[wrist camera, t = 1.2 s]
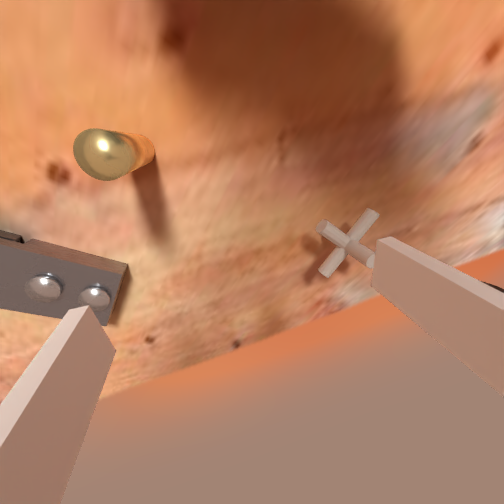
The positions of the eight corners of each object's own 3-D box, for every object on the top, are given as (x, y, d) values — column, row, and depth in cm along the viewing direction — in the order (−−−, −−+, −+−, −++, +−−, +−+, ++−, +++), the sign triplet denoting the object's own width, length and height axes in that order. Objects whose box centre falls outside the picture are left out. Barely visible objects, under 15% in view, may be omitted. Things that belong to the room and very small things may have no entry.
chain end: (-80, 276, 25) (-115, 293, 22) (-80, 209, 23) (-120, 218, 20) (112, 312, 32) (104, 329, 29) (127, 264, 30) (120, 277, 27)
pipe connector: (328, 270, 38) (369, 309, 29) (282, 242, 34) (314, 278, 25) (370, 219, 36) (428, 245, 27) (326, 183, 32) (378, 199, 23)
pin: (120, 135, 24) (64, 130, 14) (150, 133, 25) (119, 126, 14) (129, 166, 25) (84, 183, 15) (157, 163, 26) (134, 178, 15)
